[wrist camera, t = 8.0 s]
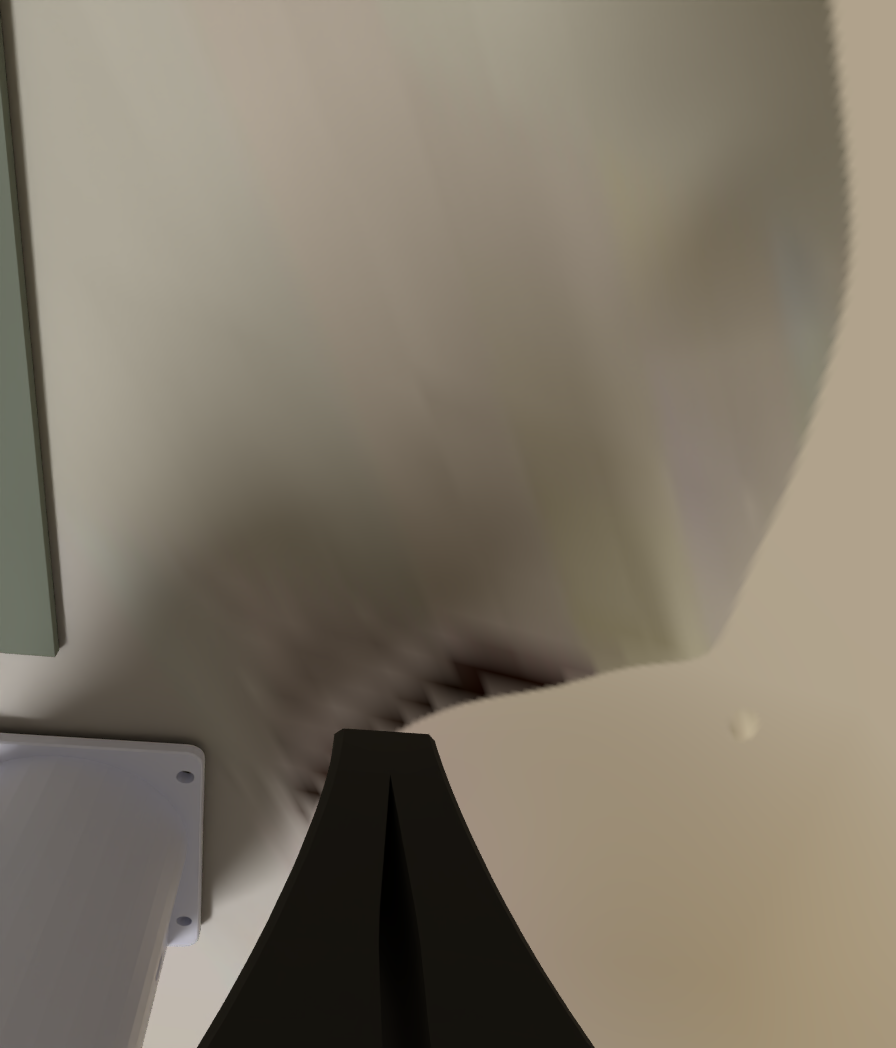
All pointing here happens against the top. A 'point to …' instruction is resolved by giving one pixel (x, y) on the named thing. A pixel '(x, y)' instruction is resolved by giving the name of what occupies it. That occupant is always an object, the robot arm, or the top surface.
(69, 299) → the top surface
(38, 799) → the robot arm
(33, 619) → the mat
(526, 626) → the top surface
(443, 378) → the top surface
